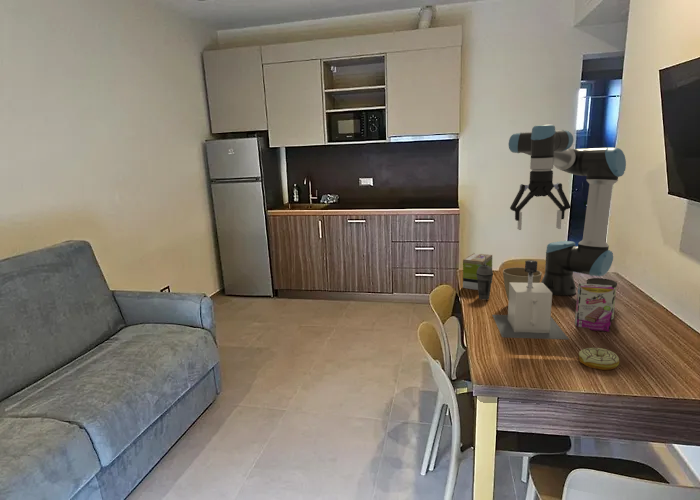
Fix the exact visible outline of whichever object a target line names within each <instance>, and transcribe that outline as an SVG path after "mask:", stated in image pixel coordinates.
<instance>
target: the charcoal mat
mask: <svg viewBox="0 0 700 500" xmlns="http://www.w3.org/2000/svg"><path fill="white" fill-rule="evenodd" d="M492 317H493V319H494V322H495V324H496V326H497V329H498V331H499V333H500V335H501V338H511V339H516V338H517V339H540V340H542V339H543V340H546V339H547V340H570V338H569V337H568V336H567V334H566V333H565V332H564V331H563V330H562V328H561V327H560V326H559V325H558V322H556V321H555V320H554V318H553V317H552V316H551V319H550V333H531V332H514V331H513V329H512V327H511V325H510V323H509V321H508V314H492Z"/></svg>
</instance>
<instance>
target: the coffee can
mask: <svg viewBox="0 0 700 500" xmlns="http://www.w3.org/2000/svg"><path fill="white" fill-rule="evenodd" d="M586 284H598V285H612V286H613V288H614V289H615V293H614V301H613V310H612V318H611V321H612V320H614V317H615V306H616V298H617V297H616V295H617V286H618V282H617V281H615V280H612V279H608V278H603V277H602V278H600V277H593V278H592V277H591V278H588V279H587V280H586Z"/></svg>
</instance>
